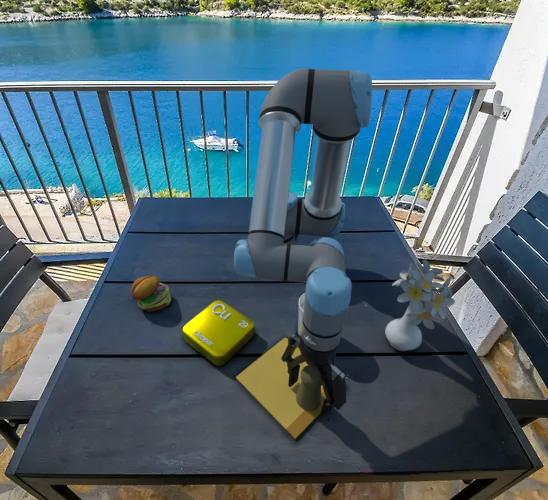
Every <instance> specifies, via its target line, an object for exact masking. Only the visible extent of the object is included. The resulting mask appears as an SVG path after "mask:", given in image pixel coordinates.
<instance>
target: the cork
mask: <svg viewBox="0 0 548 500" xmlns="http://www.w3.org/2000/svg"><path fill="white" fill-rule="evenodd" d="M321 385H322V383H321V380H320V379H318V377H317V374H316V371H315V370H314V369H313V368H312V367H311V366H309V365H307V366H305V367H304V368H303V369H302V371H301V384H300V386H299V389H298V391H297V394H296V401H297V404H298V405H299V406H300V407H301V408H302V409H304V410H307V411H314V410H316V409H318V408H319V406H320V405H321V402H322V399H321Z"/></svg>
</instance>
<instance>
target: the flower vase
mask: <svg viewBox="0 0 548 500" xmlns="http://www.w3.org/2000/svg"><path fill="white" fill-rule="evenodd" d="M416 265H417V267H418V268H419V270H420V271H421V272H422V274H423V276H422V274H421V273H420V272H419V271H417V270H415V269H413V266H414V262H411V263H410V265H409V266H408V269H407V270H406V269H402V270H401V271H399V277H400V279H397V280H396V281H394V282H393V283H392V284H391V286H392V287H393V286H394V287H395V286H396V287H399V286H400V287H401V289H402V290H404V291H405V292H404V293H403V292H402V293H401V294H399V295H398V296H397V299H396V300H397V302H398V303H407V302H409V303H408V306H407V308H406V310H405V312H404V314H403V316H402V317H400V318H394V319H392V320H390V321H389V322H388V323H387V325H385V328H384V333H385V334H384V335H385V337H386V339H387V341H388V342H389V344H390V345H391V347H392V348H394V349H395V350H397V351H400V352H408V351H413V350H416V349H417V348H419V347H420V346H421V344H422V342H423V333H422V330H421V329H420V327H419V326H418V325H419V324H421V323H423V325H424V326H425V327H426V328H427V329H429V330H434V329H435V324H434V322H435V323H439V324H440V323H445V319H446V318H447V311H446V308H445V307H447V308H450V307H451V306H453V305H454V304H455V302H456V300H455V299H454V298H452V297H453V292H452V289H450V284H451V281H452V276H451V275H449V277H448V278H446V279H444V278H443V277H442V276H440V275H443V273H444V271H443V269H441V268H436V267H435V268H431V265H430V263H429V261H428V260H427V259H422V264H421V263H419V262H416ZM412 277H414V279H413V278H412ZM434 280H437V281H440V282H437V281H434ZM441 282H443V283H441ZM432 292H435V293H434V294H433V295H431V294H430V293H432ZM437 292H438V293H437ZM427 302H432V307H431V311H427V310H426V303H427ZM437 313H438V315H439V317H438V316H436V315H437Z"/></svg>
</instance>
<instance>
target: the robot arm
mask: <svg viewBox="0 0 548 500" xmlns="http://www.w3.org/2000/svg"><path fill="white" fill-rule="evenodd" d="M372 104H373V80H372V75H371V74H370V73H369V72H368V71H366V70H364V71H363V70H354V69H353V68H351V69H350V68H349V69H329V68H327V69H326V68H325V69H323V68H305V67H304V68H297V69H295V70H292V71H289V72H288V73H286V74H285V75H284V76H282V77H281V78H280V79H279V80H278V81H277V82H276V83H275V84H274V85H273V86H272V88H271V89H270V90H269V92H268V93H267V95H266V96H265V98H264V100H263V102H262V105H261V107H260V112H259V117H258V127H259V130H260V131H261V134H260V135H261V136H260V143H259V149H258V150H259V151H258V156H257V157H258V158H257V165H256V173H255V179H254V187H253V196H252V203H251V208H250V209H251V211H250V216H249V217H250V218H249V226H248V235H247V238H244V239H239V240H238V241H237V242H236V244H235V249H234V253H233V270H234V271H235V273H236V275H238V276H243V277H249V278H255V280H257V279H265V280H275V281H284V282H292V283H300V284H301V283H302V284H305V291H304V293H305V304H304V315H303V320H302V328H301V335H299V334H298V331H297V332H294V333H293V334H292V335H290V337H288V338H287V339H288V346H287V348H286V350H285V352H284V354H283V356H282V358H281V359H282V361H283V362H285V361H286V363H287V367H288V371H287V372H288V374H289V382H288V386H289V387H292V386H293V385H294V384H295V383H296V382H297V381H298V377H299V370H300V365H299V364H300V363H303V362H306V363H307V364H308V365H309V366H311V367H312V368H313V369H314V370H315V371H316V374H317V377H318V379H320V380H321V383H322V386H323V390H324V393H325V396H326V399H325V400H324V401H323V406H322V410H321V413H320V414H319V416H320V417H321V418H324V417H325V416H326V415H327V414H328V413H329V412H332V411H333V410H334V409H336V410H337V411H339V410H341V408H342V407H343V406H344V405H345V404H346V403H347V389H346V378H347V376H348V372H347V371H346V370H345V369H342V370H340V369H339V368H338V367H337V366H336V362H335V359H336V357H337V353H338V348H339V345H340V341H341V337H342V333H343V327H344V323H345V319H346V316H347V312H348V309H349V305H350V303H351V300H352V296H351V295H352V290H353V283H352V280H351V278H349V277H348V275H347V273H346V258H345V252H344V249H343V246H342V244H341V243H340V242H339V241H338V240H336V239H334V238H335V237H338V235H340V233H341V231H342V228H343V226H344V221H345V217H346V203H344V202H343V201H342V198H341V196H340V192H341V188H342V184H343V179H344V174H345V171H346V165H347V161H348V157H349V153H350V147H351V144H352V140H354V139H356V138H357V137H358V136H359V134H360V132H361V129H364V128H368V127H369V126H370V123H371V116H372ZM303 124H304V125H311V129H312V132H313V134H314V135H315V136H316V143H315V151H314V158H313V166H312V175H311V184H310V191H309V192H308V193H307V194H306V195H305V197H304V198H299V197H298V195H297V194H296V193H295V192H293V191H291V190H290V187H291V179H292V178H291V177H292V169H293V161H294V151H295V142H296V135H297V134H298V133H299V132H300V131H301V126H302V125H303ZM295 235H304V236H312V237H313V236H314V237H320V238H316V239H314V240H312V241H311V242H310V243H309V244H308V245H304V244H303V245H301V244H297V240H296V238H295ZM297 347H298V348H299V349H300V352H301V355H299V356H297V357H295V358H294V359H293V358H292V357H291V356H292V355H293V353H294V351H295V350H296V348H297Z"/></svg>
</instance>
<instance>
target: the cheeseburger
mask: <svg viewBox="0 0 548 500" xmlns="http://www.w3.org/2000/svg"><path fill="white" fill-rule="evenodd" d="M130 294H131V297H132V299H133V300H135V302H137V306H138V307H139V309H142V310H144V311H145V312H150V313H151V312H156V311H159V310H162V309H164V308H165V307H168V306H169V305H170V304H171V302H172V297H171V292H170V287H169V286H168V285H167V284H166V283H162V282H161V279H160V278H159V277H158V276H156V275H155V274H152V275H151V274H150V275H146V276H142V277H141V276H140V277H138V278H137V279H135V280H134V282H133V283H132V285H131V289H130Z"/></svg>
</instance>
